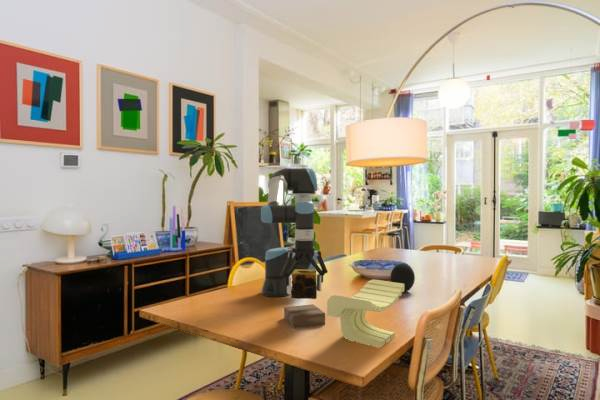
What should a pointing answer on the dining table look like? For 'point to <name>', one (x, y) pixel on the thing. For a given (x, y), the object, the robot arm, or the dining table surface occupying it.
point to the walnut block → (304, 316)
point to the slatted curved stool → (353, 311)
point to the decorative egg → (403, 275)
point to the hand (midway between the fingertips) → (304, 292)
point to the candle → (304, 284)
